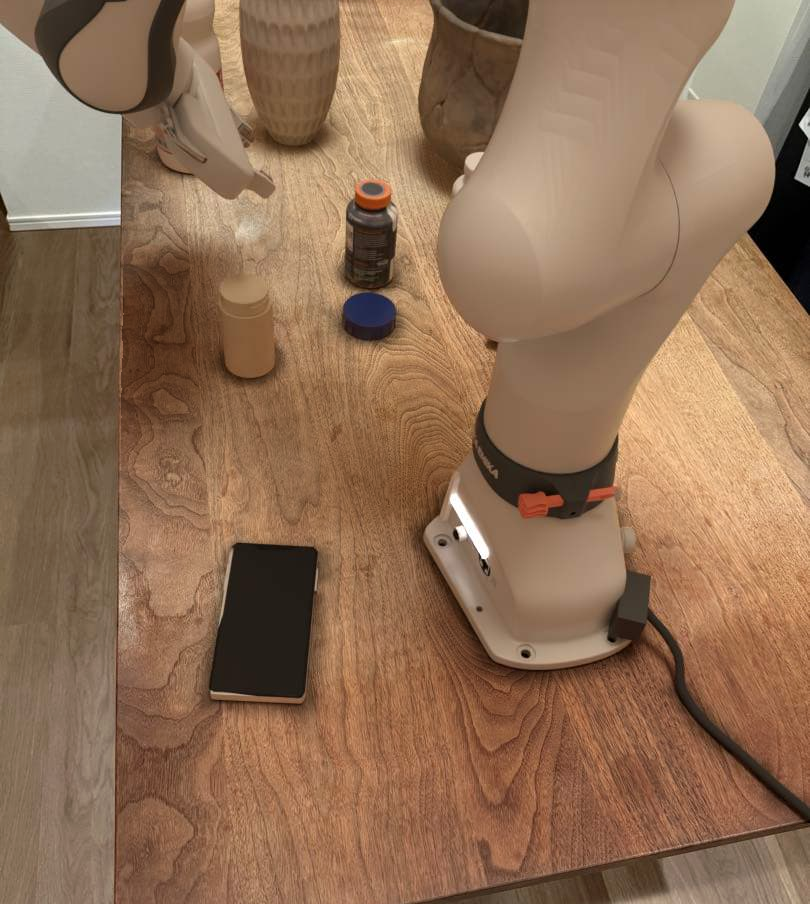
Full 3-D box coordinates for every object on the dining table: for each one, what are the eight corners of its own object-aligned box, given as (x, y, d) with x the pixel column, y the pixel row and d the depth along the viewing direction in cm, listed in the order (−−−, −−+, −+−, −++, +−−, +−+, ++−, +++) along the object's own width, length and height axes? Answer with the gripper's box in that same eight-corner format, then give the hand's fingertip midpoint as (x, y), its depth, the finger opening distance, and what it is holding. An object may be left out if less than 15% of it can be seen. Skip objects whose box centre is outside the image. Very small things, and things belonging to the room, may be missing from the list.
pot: (456, 100, 132) (476, -63, 115) (603, 147, 127) (647, -15, 110) (381, 178, 118) (391, 6, 101) (543, 235, 113) (583, 64, 96)
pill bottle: (403, 271, 106) (410, 186, 97) (375, 296, 103) (381, 210, 94) (362, 252, 108) (366, 166, 99) (334, 276, 105) (335, 189, 95)
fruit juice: (167, 134, 120) (131, -108, 98) (235, 141, 120) (215, -99, 98) (150, 171, 115) (109, -77, 92) (222, 179, 115) (198, -66, 92)
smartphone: (205, 693, 70) (230, 541, 79) (207, 700, 71) (231, 549, 80) (306, 698, 70) (320, 546, 79) (306, 704, 71) (320, 554, 80)
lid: (371, 298, 103) (372, 285, 101) (406, 325, 100) (407, 312, 99) (331, 319, 100) (331, 305, 98) (366, 347, 98) (367, 334, 96)
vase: (355, 145, 122) (363, -91, 100) (275, 168, 117) (264, -75, 95) (309, 103, 128) (306, -129, 105) (230, 123, 123) (210, -116, 100)
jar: (279, 375, 94) (275, 302, 86) (228, 380, 93) (219, 307, 85) (271, 341, 97) (267, 269, 89) (222, 346, 96) (213, 273, 88)
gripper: (188, 106, 73) (305, 199, 83) (153, -2, 84) (259, 92, 94) (142, 161, 75) (261, 245, 86) (114, 49, 87) (222, 135, 97)
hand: (260, 164), depth 90 cm, fingers open, 8 cm apart
